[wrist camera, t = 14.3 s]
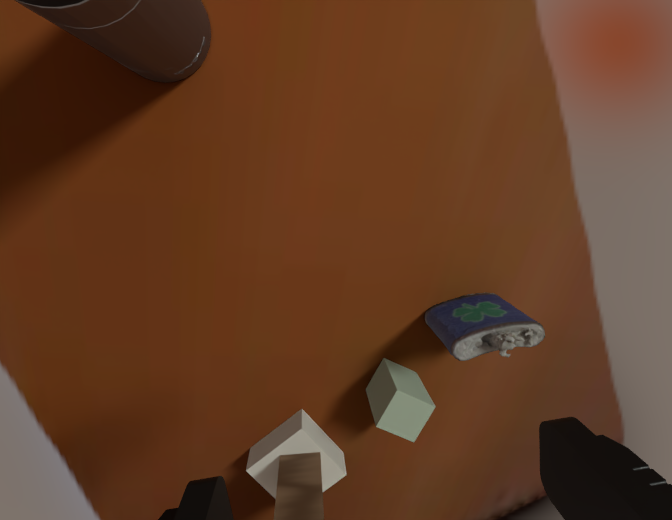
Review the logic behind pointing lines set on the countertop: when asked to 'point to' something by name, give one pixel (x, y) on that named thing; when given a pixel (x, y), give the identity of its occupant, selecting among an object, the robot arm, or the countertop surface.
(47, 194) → the countertop surface
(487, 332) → the flask
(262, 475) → the base block
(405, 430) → the sage block
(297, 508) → the walnut pillar
